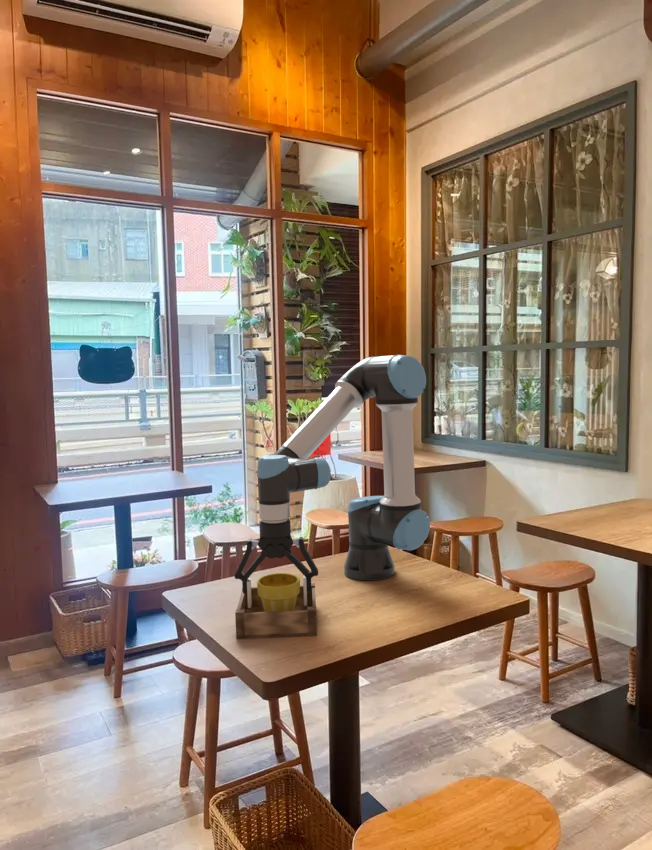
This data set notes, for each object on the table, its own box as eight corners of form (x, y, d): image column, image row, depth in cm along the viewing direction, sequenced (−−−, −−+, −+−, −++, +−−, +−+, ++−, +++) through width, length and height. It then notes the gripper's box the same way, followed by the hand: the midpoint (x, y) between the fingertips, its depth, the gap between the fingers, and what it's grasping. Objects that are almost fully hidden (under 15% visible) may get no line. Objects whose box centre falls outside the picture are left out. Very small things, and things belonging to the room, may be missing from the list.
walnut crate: (315, 606, 168) (314, 583, 167) (317, 635, 149) (316, 609, 148) (243, 609, 167) (242, 586, 166) (236, 638, 148) (235, 612, 148)
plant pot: (294, 627, 152) (293, 587, 151) (253, 625, 154) (251, 585, 153) (305, 611, 162) (304, 573, 161) (266, 609, 164) (264, 572, 163)
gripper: (325, 514, 160) (328, 597, 162) (224, 517, 159) (228, 601, 161) (326, 521, 152) (329, 608, 154) (221, 524, 152) (224, 612, 153)
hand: (277, 605), depth 158 cm, fingers open, 13 cm apart
